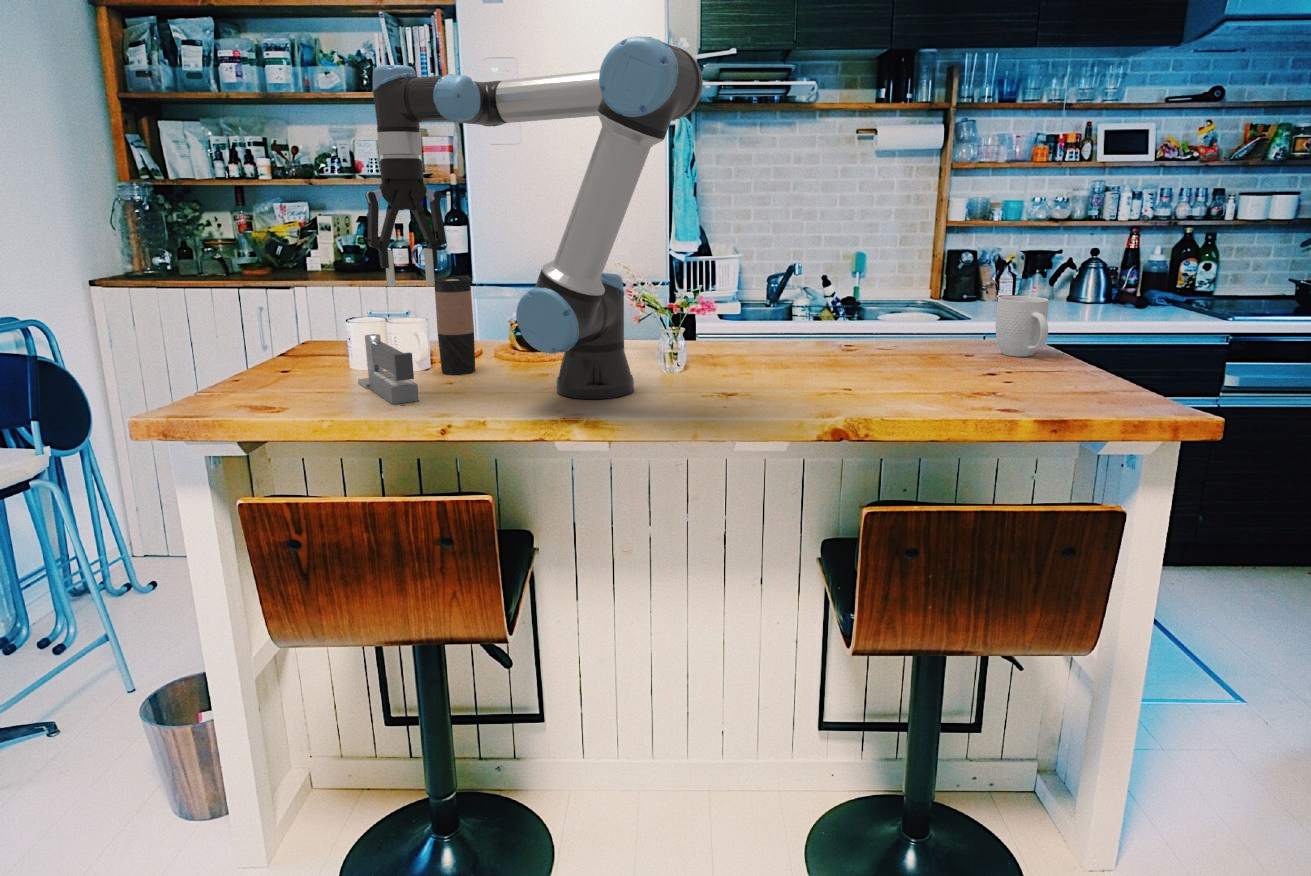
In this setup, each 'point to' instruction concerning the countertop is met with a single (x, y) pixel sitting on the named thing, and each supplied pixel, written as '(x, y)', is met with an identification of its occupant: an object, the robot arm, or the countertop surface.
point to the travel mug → (455, 325)
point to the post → (370, 359)
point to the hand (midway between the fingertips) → (411, 284)
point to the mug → (1021, 324)
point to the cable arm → (393, 360)
